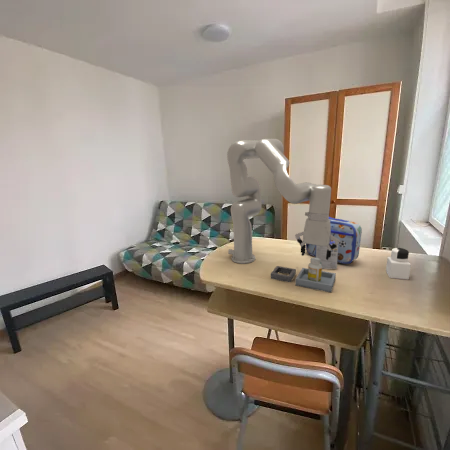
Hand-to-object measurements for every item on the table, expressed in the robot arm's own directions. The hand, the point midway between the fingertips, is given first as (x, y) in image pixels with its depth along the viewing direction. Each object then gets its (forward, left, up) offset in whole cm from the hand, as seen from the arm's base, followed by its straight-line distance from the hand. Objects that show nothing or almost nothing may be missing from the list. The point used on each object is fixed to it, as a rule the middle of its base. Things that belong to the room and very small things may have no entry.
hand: (315, 256), depth 108 cm
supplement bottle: (0, 0, -11) cm, 11 cm away
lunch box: (+2, +30, -12) cm, 32 cm away
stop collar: (-13, 0, -12) cm, 18 cm away
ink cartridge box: (+2, +18, -12) cm, 21 cm away
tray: (+1, 0, -12) cm, 12 cm away
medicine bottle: (+31, +21, -12) cm, 39 cm away
